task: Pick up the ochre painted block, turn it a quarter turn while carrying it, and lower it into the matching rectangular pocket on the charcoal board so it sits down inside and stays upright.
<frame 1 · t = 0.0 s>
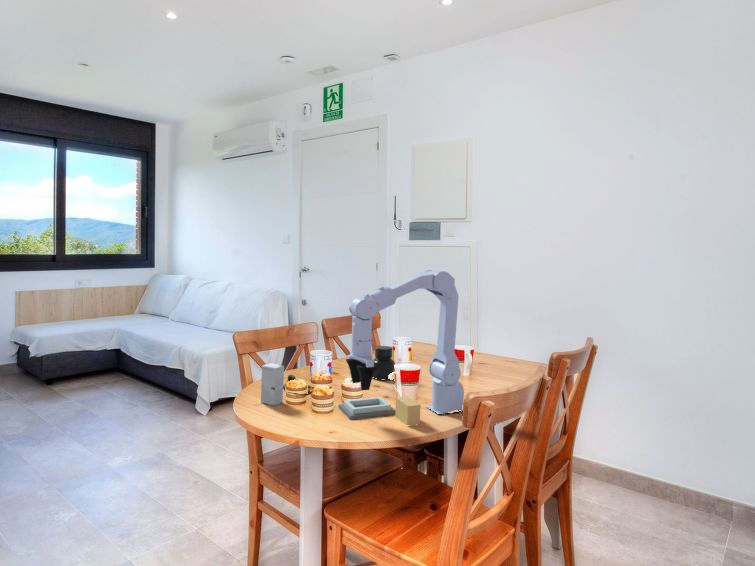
hand: (360, 386, 138), 10 cm above the table, tool pointing down, fingers open, 7 cm apart
ink bottle: (382, 378, 186), on the table
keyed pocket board: (366, 410, 147), on the table
seal: (297, 390, 168), on the table
skincare box: (272, 403, 153), on the table
ochre block: (407, 421, 139), on the table
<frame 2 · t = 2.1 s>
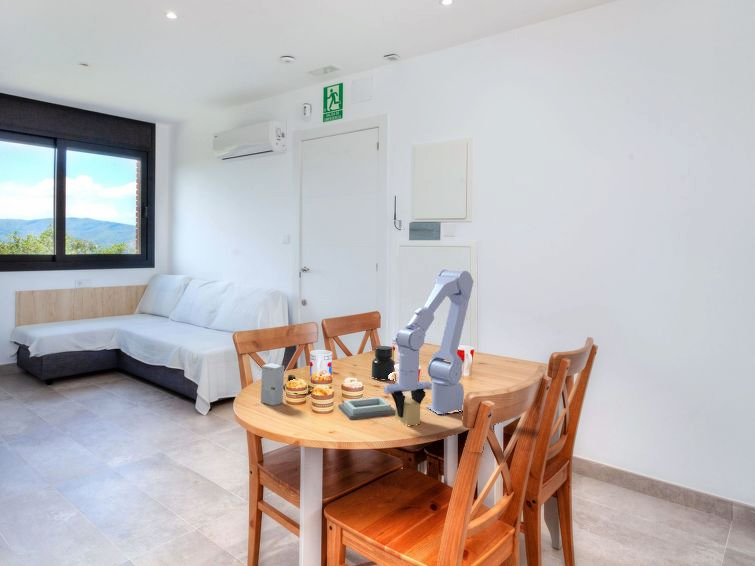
hand: (407, 415, 139), 2 cm above the table, tool pointing down, fingers closed on ochre block, 4 cm apart
ochre block: (407, 421, 139), on the table, touching gripper
everything else where it was.
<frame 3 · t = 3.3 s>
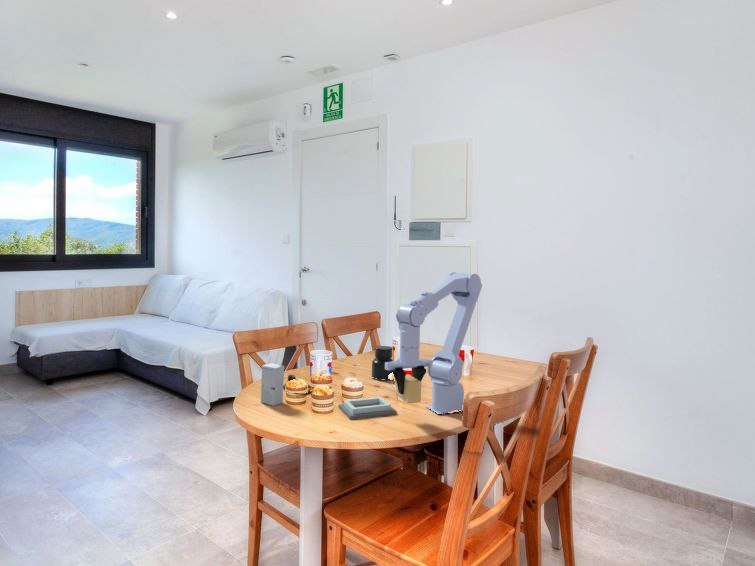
hand: (408, 392, 139), 8 cm above the table, tool pointing down, fingers closed on ochre block, 4 cm apart
ochre block: (408, 398, 139), point 7 cm above the table, touching gripper
everything else where it was.
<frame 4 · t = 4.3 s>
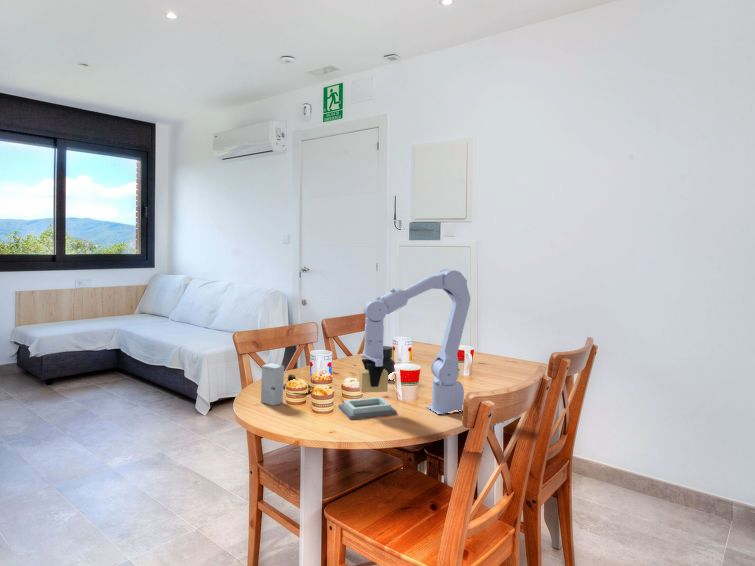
hand: (372, 384, 146), 9 cm above the table, tool pointing down, fingers closed on ochre block, 4 cm apart
ochre block: (373, 390, 146), point 7 cm above the table, touching gripper
everything else where it was.
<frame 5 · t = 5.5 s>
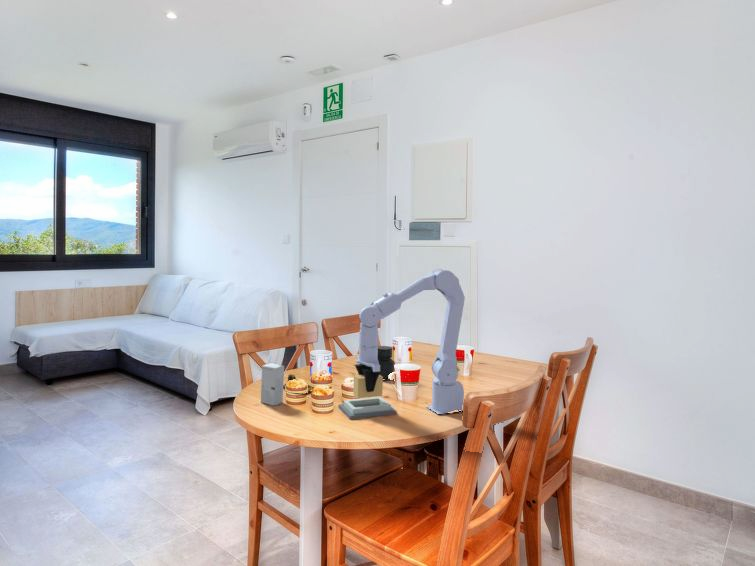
hand: (367, 389, 147), 7 cm above the table, tool pointing down, fingers closed on ochre block, 4 cm apart
ochre block: (367, 395, 147), point 5 cm above the table, touching gripper
everything else where it was.
when the fingers open (3 cm above the table, at t = 6.6 s): ochre block stays where it is, resting on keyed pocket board.
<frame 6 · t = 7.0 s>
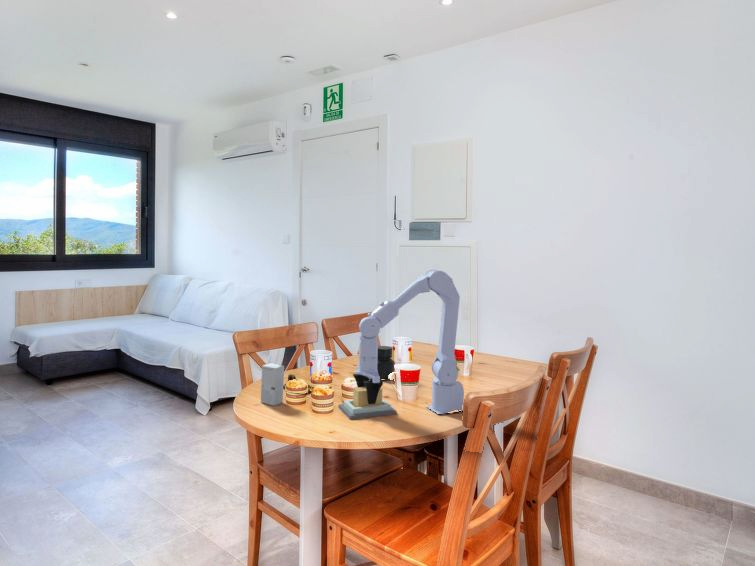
hand: (367, 399, 147), 3 cm above the table, tool pointing down, fingers open, 7 cm apart
ochre block: (367, 407, 147), point 1 cm above the table, touching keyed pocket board
everything else where it was.
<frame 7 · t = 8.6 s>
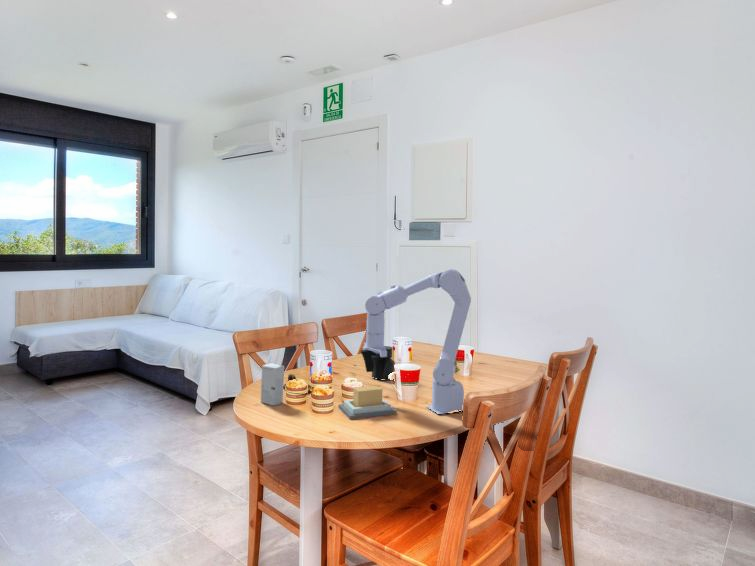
hand: (374, 374, 154), 9 cm above the table, tool pointing down, fingers open, 7 cm apart
nothing on the table moved.
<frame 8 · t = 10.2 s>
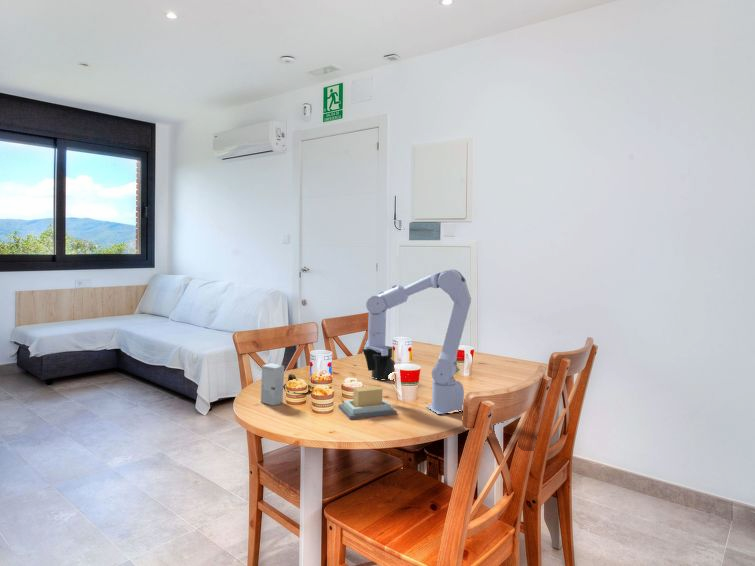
hand: (375, 373, 156), 9 cm above the table, tool pointing down, fingers open, 7 cm apart
nothing on the table moved.
at the end: ochre block 0.2 cm off-centre on the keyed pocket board, point 1.0 cm above the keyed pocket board's base; ochre block tilted 0°; the gripper is holding nothing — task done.
